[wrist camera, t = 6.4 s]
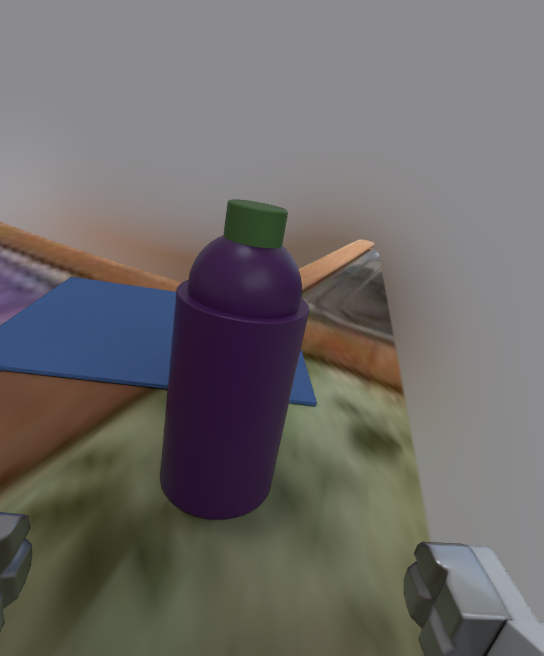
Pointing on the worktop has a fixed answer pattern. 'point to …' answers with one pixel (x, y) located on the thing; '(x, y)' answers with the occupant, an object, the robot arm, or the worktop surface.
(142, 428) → the worktop surface
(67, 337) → the napkin
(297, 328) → the purple bottle
